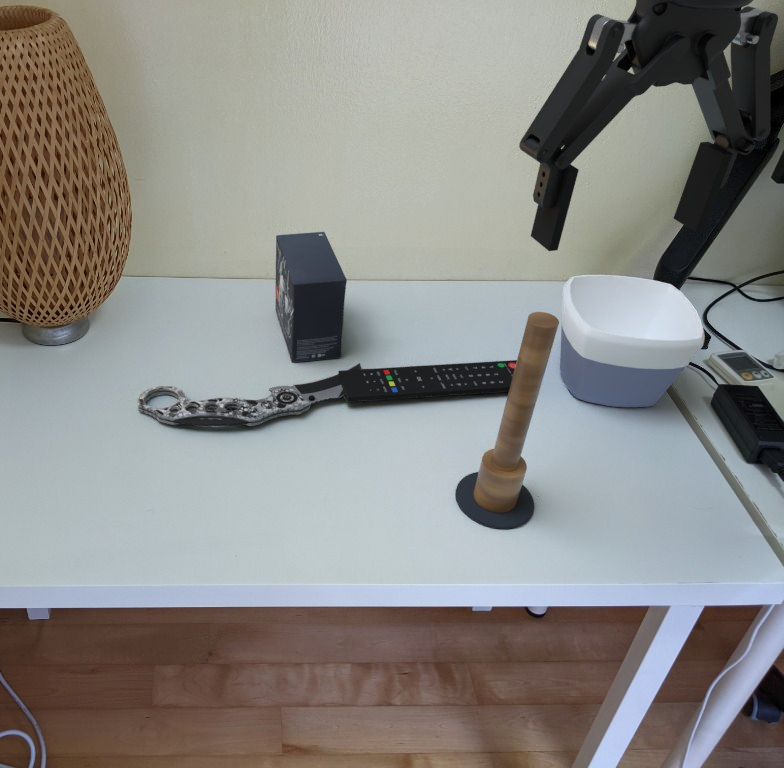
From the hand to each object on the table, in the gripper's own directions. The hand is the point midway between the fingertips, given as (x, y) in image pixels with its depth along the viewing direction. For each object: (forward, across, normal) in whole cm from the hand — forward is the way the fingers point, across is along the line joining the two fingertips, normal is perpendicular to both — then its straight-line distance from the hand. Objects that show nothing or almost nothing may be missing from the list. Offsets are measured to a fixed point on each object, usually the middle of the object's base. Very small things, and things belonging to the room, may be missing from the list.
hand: (617, 234), depth 63 cm
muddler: (+30, +4, -1) cm, 30 cm away
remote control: (+30, +2, -20) cm, 36 cm away
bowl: (+30, -20, -16) cm, 40 cm away
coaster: (+30, +4, -1) cm, 31 cm away
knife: (+30, +24, -23) cm, 45 cm away
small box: (+30, +14, -36) cm, 49 cm away
